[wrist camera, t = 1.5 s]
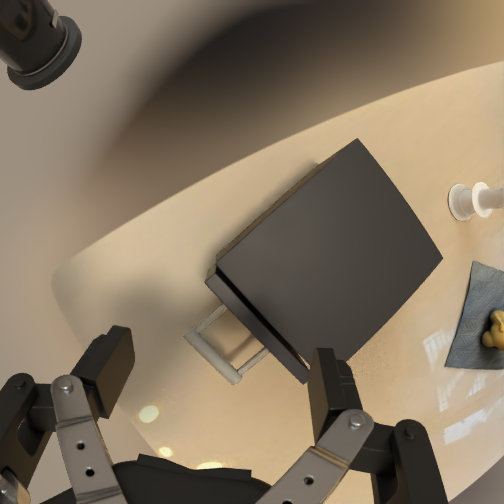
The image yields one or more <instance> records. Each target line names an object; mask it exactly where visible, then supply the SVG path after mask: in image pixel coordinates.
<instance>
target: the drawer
mask: <svg viewBox="0 0 504 504" xmlns="http://www.w3.org/2000/svg"><path fill="white" fill-rule="evenodd" d="M205 284H206V285H207V286H208V287H209V288H210V289H211V290H212V291H213V292H214V294H215V295H216V296H217V297H218V298H219V299H220V300H221V301H222V302H223V304H222V305H221V306H219V307H218V308H217V309H216V310H215V311H214V312H213V313H211V314H210V315H209V316H208V317H207V318H206V319H205V320H204V321H202V322H201V323H200V324H199V325H198V326H197V327H196V328H194V327H192V328H191V329H189V330H188V331H187V332H186V333H185V334H184V336H183V337H184V338H185V339H186V340H187V341H188V342H189V343H190V344H191V345H192V346H193V347H194V348H195V349H196V350H197V351H198V352H199V353H200V354H201V355H202V356H203V357H204V358H205V359H206V360H207V361H208V362H209V363H210V364H211V365H212V366H213V367H214V368H215V369H216V370H217V371H218V372H219V373H220V374H221V375H222V376H223V377H224V378H226V379H227V380H228V381H229V382H230V383H231V384H232V385H235V384H237V383H238V382H239V381H240V380H241V379H242V375H243V374H244V373H245V372H246V371H248V370H249V369H250V368H251V367H252V366H254V365H255V364H256V363H257V362H258V361H260V360H261V359H262V358H263V357H264V356H265V355H267V354H268V353H269V352H271V353H272V354H273V355H274V356H275V357H276V358H277V359H278V360H279V361H280V362H281V363H282V364H283V365H284V366H285V367H286V368H287V369H288V370H289V371H290V372H291V373H292V374H293V375H294V376H295V377H296V378H297V379H298V380H299V381H300V382H301V383H302V384H303V385H304V384H305V383H306V382H307V381H308V374H309V369H308V368H307V366H306V365H305V363H304V362H303V360H302V359H301V357H300V356H299V354H298V353H297V351H296V350H295V349H294V348H293V347H292V346H291V345H290V344H289V343H288V342H287V341H286V340H285V339H284V338H283V337H282V336H281V335H280V334H279V332H278V331H277V330H276V329H275V328H274V327H273V326H272V325H271V324H270V323H269V322H268V321H267V320H266V319H265V318H264V317H263V315H262V314H261V313H260V312H259V311H258V310H257V309H256V308H255V307H254V306H253V305H252V304H251V303H250V301H249V300H248V299H247V298H246V297H245V296H244V295H243V294H242V293H241V292H240V291H239V290H238V288H237V287H236V286H235V285H234V284H233V283H232V282H231V281H230V280H229V279H228V277H227V276H226V275H225V274H224V273H223V272H222V271H221V270H220V269H219V268H218V266H217V265H216V264H215V265H214V266H213V267H212V268H211V269H209V270H208V273H207V276H206V279H205ZM227 309H229V310H230V311H231V312H232V313H233V314H234V315H235V316H236V317H237V318H238V319H239V320H240V321H241V322H242V323H243V324H244V325H245V327H246V328H247V329H248V330H249V331H250V332H251V333H252V334H253V335H254V336H255V337H256V338H257V339H258V340H259V341H260V342H261V343H262V344H263V345H264V346H265V347H264V348H263V349H261V350H260V351H259V352H258V353H257V354H256V355H254V356H253V357H252V358H251V359H250V360H248V361H247V362H246V363H245V364H244V365H242V366H241V367H240V368H239V369H238V370H236V369H235V368H234V367H233V366H232V365H231V364H230V363H229V362H228V361H227V360H226V359H225V358H224V357H223V356H222V355H221V354H220V353H219V352H218V351H217V350H216V349H215V348H214V347H213V346H212V345H211V344H210V343H209V342H208V341H207V340H206V339H205V338H204V337H203V336H202V335H201V334H200V333H201V332H202V331H203V330H204V329H205V328H206V327H207V326H209V325H210V324H211V323H212V322H213V321H214V320H215V319H217V318H218V317H219V316H220V315H221V314H222V313H223V312H225V311H226V310H227Z"/></svg>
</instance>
